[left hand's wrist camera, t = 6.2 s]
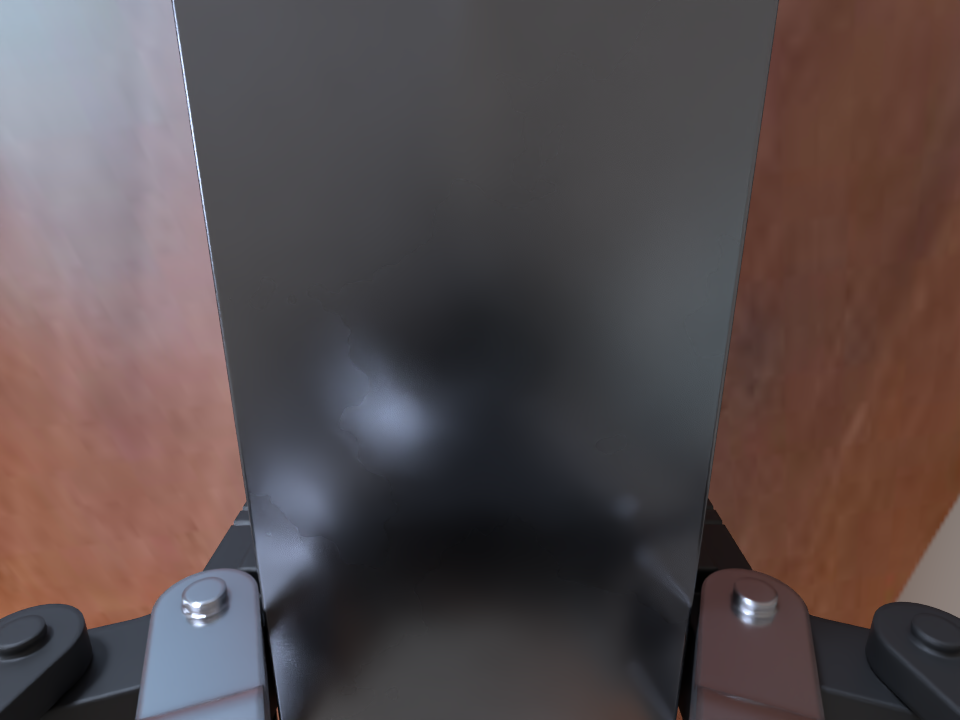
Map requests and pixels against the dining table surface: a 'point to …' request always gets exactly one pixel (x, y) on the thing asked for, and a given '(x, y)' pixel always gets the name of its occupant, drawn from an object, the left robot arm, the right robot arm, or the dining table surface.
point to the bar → (476, 334)
